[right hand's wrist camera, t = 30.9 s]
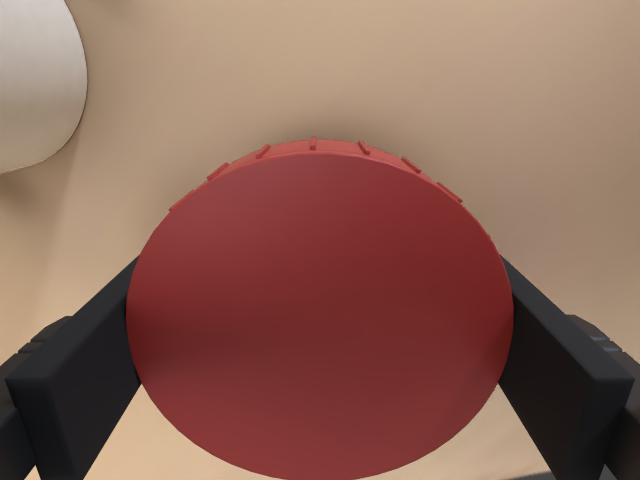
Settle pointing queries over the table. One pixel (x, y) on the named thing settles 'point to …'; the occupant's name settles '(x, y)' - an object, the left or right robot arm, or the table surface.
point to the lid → (319, 313)
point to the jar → (38, 80)
